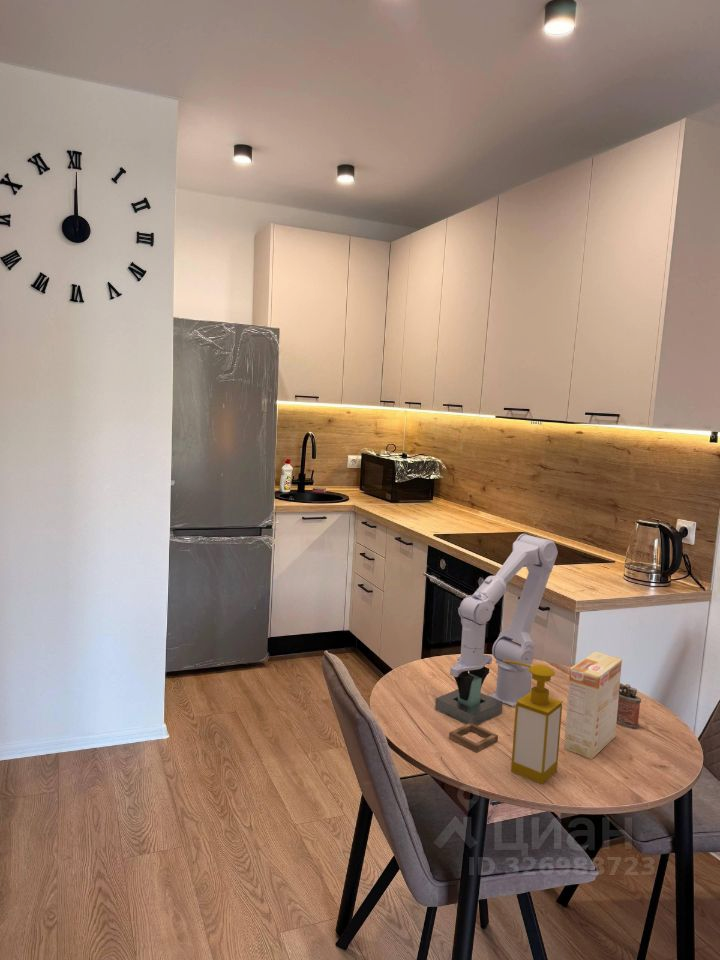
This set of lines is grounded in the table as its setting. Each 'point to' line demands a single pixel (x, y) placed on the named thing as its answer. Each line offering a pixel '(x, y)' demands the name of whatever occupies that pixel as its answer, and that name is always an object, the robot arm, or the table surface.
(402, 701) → the table surface
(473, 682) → the teal peg
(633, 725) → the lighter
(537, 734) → the soap bottle
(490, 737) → the stand frame
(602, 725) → the coffeecake box
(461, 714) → the socket block
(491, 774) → the table surface
